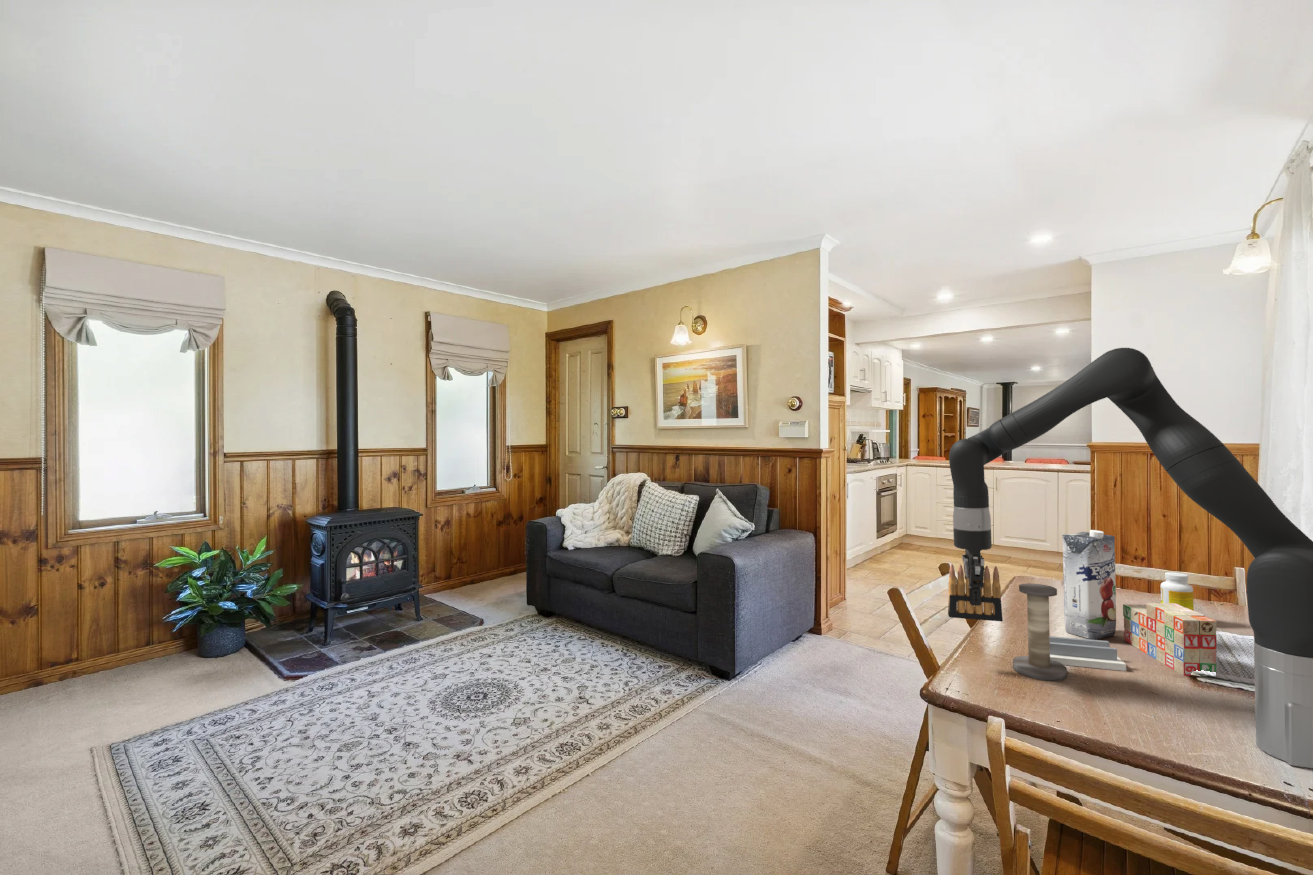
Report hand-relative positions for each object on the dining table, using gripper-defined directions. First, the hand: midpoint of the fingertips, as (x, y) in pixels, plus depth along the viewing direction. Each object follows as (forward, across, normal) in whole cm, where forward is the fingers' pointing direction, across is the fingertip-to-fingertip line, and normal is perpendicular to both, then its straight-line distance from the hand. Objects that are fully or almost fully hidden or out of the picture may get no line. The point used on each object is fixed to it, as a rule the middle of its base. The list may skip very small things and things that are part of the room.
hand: (974, 603), depth 131 cm
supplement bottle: (+15, +49, -55) cm, 76 cm away
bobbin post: (+15, +1, -12) cm, 19 cm away
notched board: (+15, +11, -22) cm, 29 cm away
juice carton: (+15, +31, -30) cm, 46 cm away
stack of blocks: (+15, +19, -42) cm, 48 cm away
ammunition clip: (+4, 0, 0) cm, 4 cm away
